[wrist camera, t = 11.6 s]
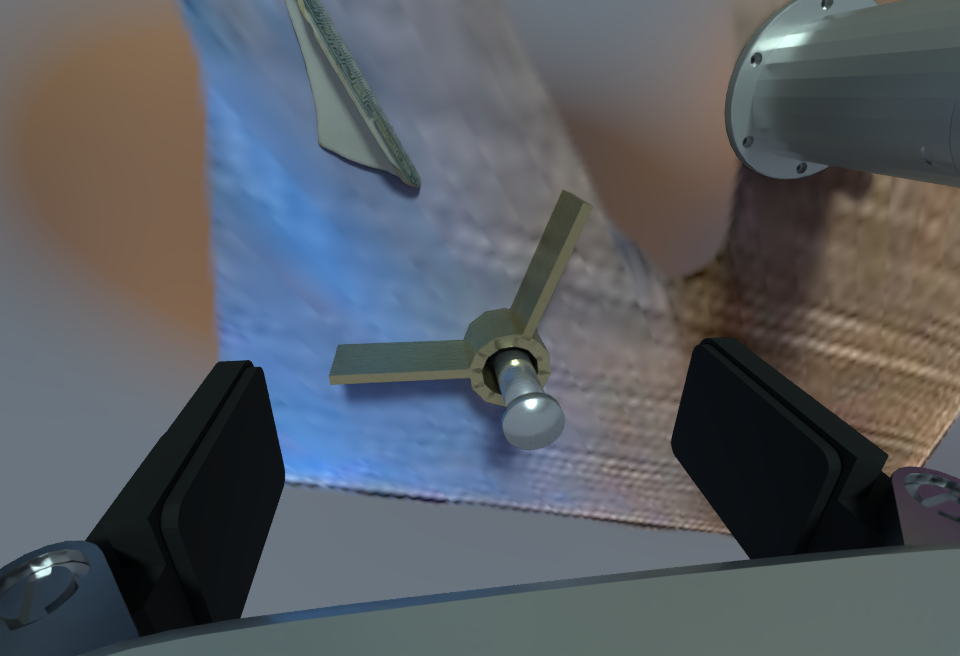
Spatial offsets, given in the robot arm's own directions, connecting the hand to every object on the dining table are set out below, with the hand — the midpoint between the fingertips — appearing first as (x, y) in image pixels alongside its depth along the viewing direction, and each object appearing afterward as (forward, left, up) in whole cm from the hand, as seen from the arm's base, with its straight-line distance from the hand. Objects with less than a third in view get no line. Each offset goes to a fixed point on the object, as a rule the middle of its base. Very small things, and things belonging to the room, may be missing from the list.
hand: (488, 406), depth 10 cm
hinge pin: (-10, +11, -28) cm, 32 cm away
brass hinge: (-5, +6, -28) cm, 29 cm away
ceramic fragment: (+7, -4, -29) cm, 30 cm away
